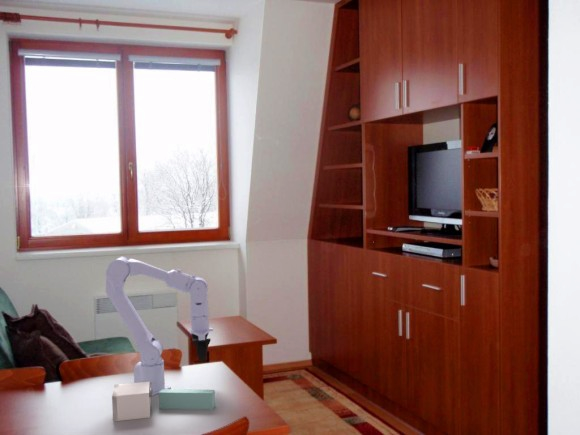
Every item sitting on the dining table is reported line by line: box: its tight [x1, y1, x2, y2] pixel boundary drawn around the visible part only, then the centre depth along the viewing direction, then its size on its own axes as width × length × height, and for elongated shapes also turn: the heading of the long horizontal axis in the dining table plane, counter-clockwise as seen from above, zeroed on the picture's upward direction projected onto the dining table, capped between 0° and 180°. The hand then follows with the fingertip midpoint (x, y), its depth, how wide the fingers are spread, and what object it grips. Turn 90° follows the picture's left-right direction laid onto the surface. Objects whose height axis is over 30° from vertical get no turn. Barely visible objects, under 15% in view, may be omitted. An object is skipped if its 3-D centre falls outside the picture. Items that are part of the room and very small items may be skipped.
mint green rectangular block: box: [158, 388, 216, 410], centre depth 185 cm, size 16×3×5 cm, turn 81°
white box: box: [111, 381, 153, 422], centre depth 182 cm, size 11×11×7 cm
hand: (201, 357), depth 204 cm, fingers open, 7 cm apart
